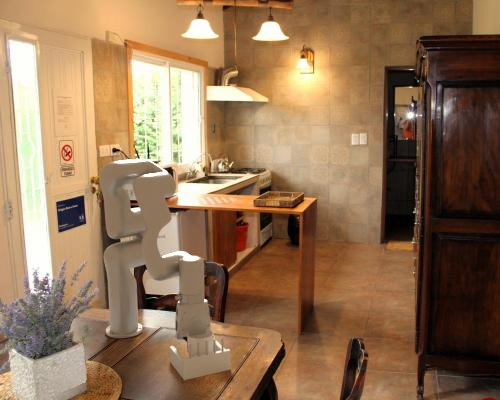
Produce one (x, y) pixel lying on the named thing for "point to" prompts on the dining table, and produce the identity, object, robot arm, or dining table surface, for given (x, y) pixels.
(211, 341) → the white cup
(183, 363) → the drying rack
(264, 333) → the dining table surface
